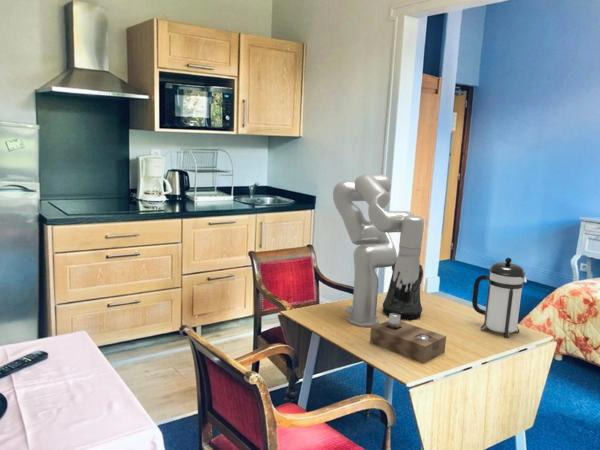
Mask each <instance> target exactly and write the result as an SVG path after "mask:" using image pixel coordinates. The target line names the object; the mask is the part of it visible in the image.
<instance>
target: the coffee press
mask: <svg viewBox="0 0 600 450" xmlns="http://www.w3.org/2000/svg"><path fill="white" fill-rule="evenodd" d="M504 260H505V261H504V262H503V261H502V262H500V261H499V262H495V263H493V264H492V265H491V267H490V268H489V275H487V274H483V275H479V276H478V277H476V279H475V280H474V284H473V289H472V299H471V303H472V307H473V309H474V311H475V312H477V313H478V314H480V315H483V316H484V322H483V324H482V325H481V327H480V330H481V331H482V332H486V331H487V330H490V331H494V332H497V333H502V334H503V338H504V339H509V337H510V333H514V332H515V333H516V334H519V333H520V329H519V327H518V323H519V313H520V306H521V300H522V299H521V297H522V291H523V288H524V283H527V277H526V272H525V271H524V268H523V267H522V266H521V265H518V264H515V263H512V258H510V257H506V258H505V259H504ZM481 281H488V289H487V296H486V305H485V310H484V309H481V308H480V306H478V299H479V298H478V297H479V288H480V283H481ZM484 327H485V328H484Z"/></svg>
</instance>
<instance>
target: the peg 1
mask: <svg viewBox="0 0 600 450" xmlns="http://www.w3.org/2000/svg"><path fill="white" fill-rule="evenodd" d="M400 316H401V315H400V314H397V313H390V314H389V317H388V321H389V324H388V328H391V329H394V330H397V329H399V327H400V321H401V320H400Z"/></svg>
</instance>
